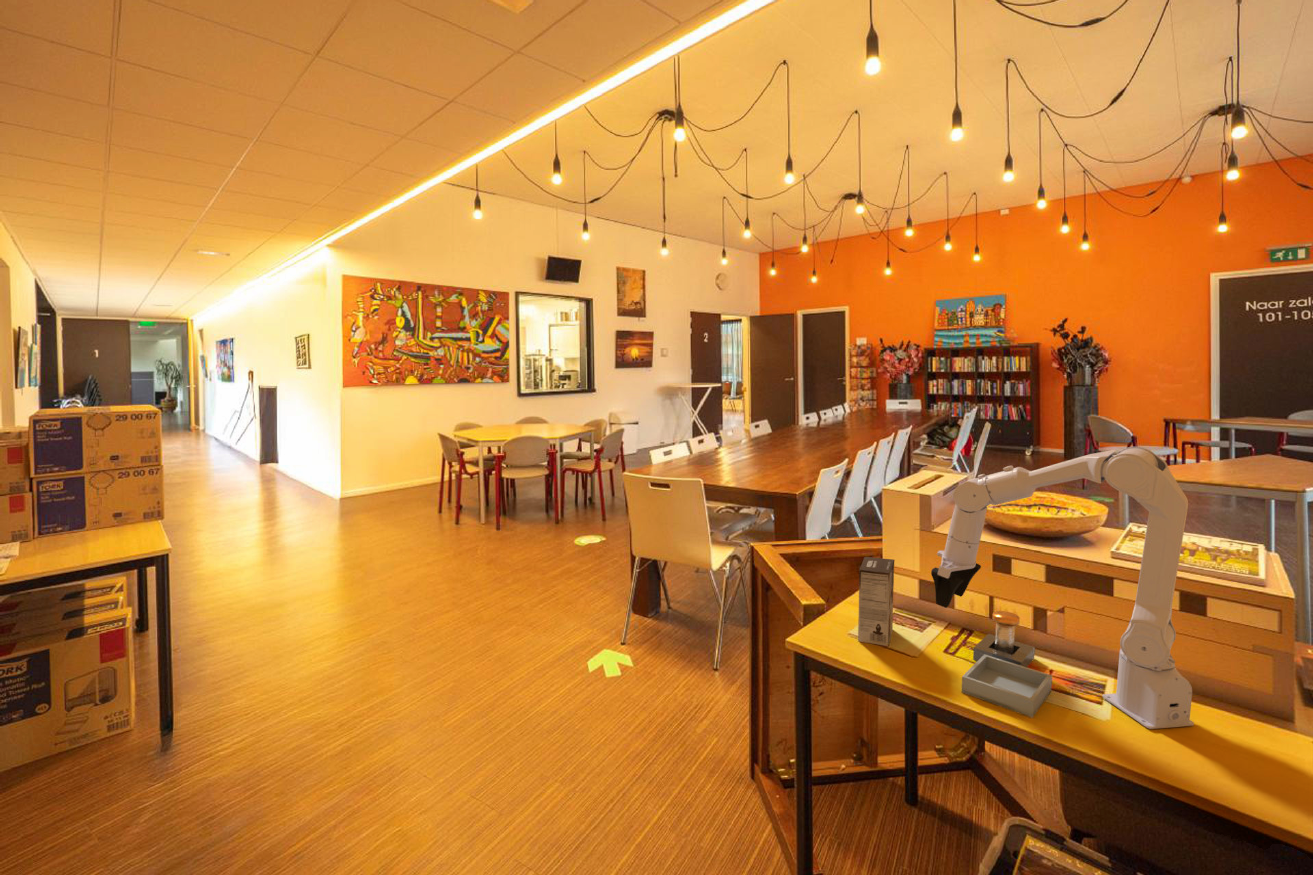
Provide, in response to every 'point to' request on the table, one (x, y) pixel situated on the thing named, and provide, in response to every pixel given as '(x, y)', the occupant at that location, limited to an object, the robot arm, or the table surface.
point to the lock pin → (1005, 630)
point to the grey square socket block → (1020, 655)
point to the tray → (1007, 685)
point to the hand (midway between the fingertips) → (949, 599)
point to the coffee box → (876, 600)
